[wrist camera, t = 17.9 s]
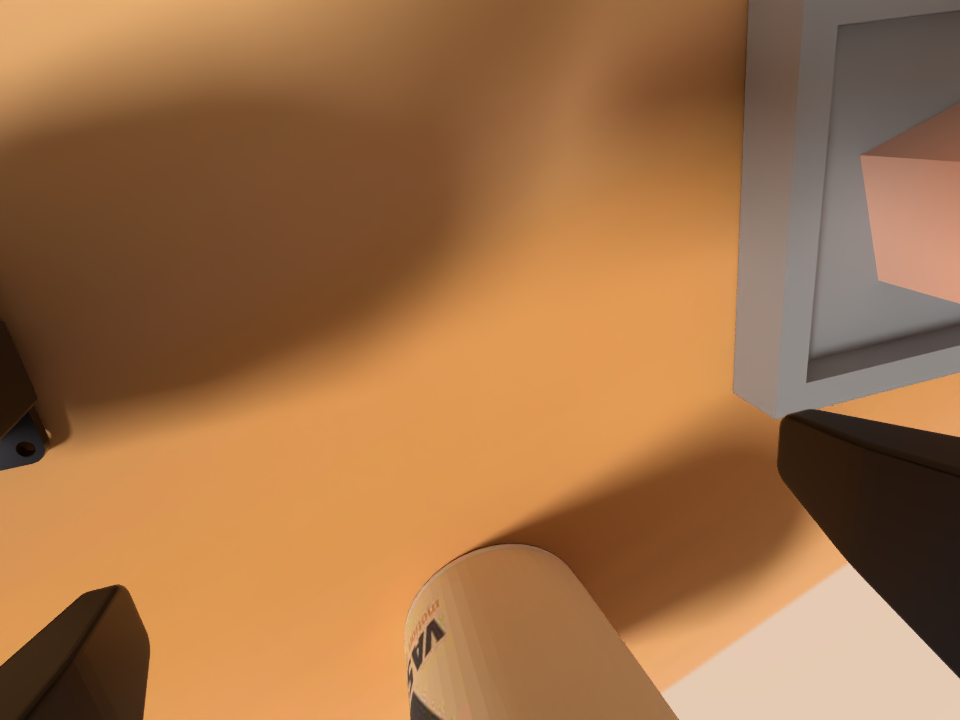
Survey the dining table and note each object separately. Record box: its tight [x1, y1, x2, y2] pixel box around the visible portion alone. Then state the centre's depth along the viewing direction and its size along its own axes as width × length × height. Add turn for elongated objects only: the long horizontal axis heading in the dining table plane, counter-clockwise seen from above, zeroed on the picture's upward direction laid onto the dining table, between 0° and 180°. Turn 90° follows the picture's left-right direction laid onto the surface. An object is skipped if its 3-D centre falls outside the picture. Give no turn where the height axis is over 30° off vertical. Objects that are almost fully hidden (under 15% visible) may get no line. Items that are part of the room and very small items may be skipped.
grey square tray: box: [733, 0, 960, 420], centre depth 23 cm, size 14×14×2 cm
